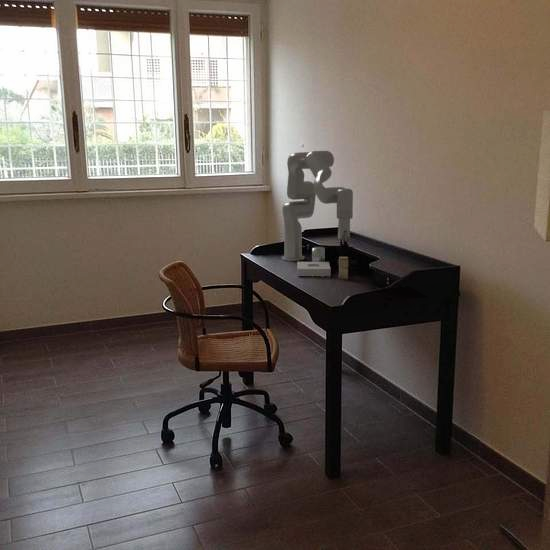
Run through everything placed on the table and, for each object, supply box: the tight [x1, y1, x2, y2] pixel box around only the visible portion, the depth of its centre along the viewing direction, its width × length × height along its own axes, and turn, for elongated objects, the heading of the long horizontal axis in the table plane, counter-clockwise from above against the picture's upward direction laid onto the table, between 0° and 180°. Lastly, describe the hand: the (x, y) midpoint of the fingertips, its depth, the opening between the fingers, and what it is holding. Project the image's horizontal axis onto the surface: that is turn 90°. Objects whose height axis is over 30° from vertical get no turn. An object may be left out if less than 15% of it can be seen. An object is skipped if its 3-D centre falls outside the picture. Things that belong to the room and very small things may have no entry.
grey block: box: [311, 246, 326, 262], centre depth 328 cm, size 7×7×10 cm
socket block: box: [296, 261, 332, 278], centre depth 315 cm, size 16×16×4 cm
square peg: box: [338, 256, 349, 280], centre depth 305 cm, size 4×4×10 cm
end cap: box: [336, 257, 358, 275], centre depth 317 cm, size 10×7×7 cm
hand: (344, 250), depth 302 cm, fingers open, 9 cm apart
